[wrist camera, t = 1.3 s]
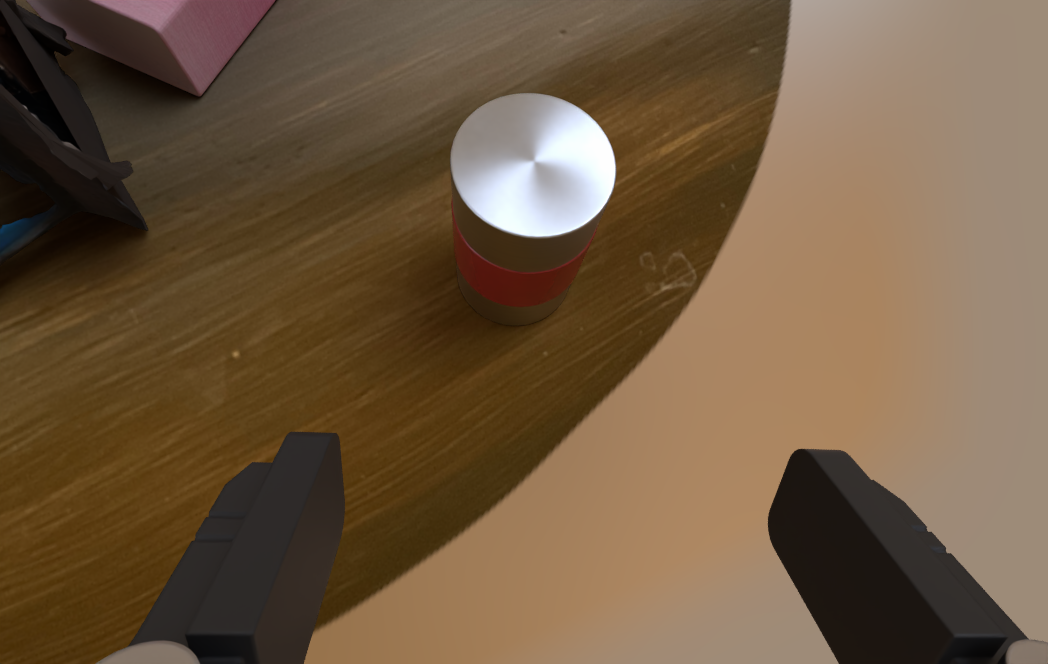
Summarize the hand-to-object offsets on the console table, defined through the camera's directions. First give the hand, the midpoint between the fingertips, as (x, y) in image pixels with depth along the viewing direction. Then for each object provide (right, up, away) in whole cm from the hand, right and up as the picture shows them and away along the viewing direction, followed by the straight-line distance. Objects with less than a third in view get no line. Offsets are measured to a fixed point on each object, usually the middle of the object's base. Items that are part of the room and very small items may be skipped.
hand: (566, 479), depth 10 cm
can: (-1, +6, +20) cm, 20 cm away
